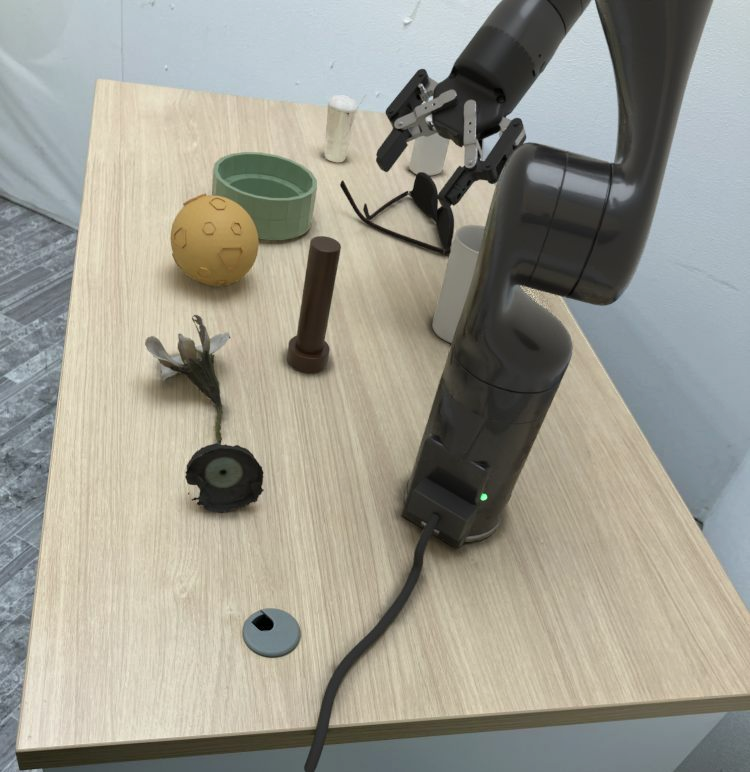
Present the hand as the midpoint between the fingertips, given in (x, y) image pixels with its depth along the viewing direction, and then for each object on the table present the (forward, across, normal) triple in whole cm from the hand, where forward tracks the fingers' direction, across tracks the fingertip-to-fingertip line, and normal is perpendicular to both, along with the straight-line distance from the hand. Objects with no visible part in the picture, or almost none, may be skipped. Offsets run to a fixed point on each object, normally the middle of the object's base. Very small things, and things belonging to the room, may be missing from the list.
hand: (410, 184), depth 82 cm
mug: (+6, +4, +19) cm, 21 cm away
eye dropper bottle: (-15, -26, +41) cm, 51 cm away
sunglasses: (-2, -17, +28) cm, 32 cm away
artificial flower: (+32, +2, -7) cm, 33 cm away
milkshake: (-8, -36, +33) cm, 49 cm away
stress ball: (+20, -18, +5) cm, 27 cm away
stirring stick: (+21, 0, +4) cm, 21 cm away
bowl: (+9, -26, +16) cm, 32 cm away
